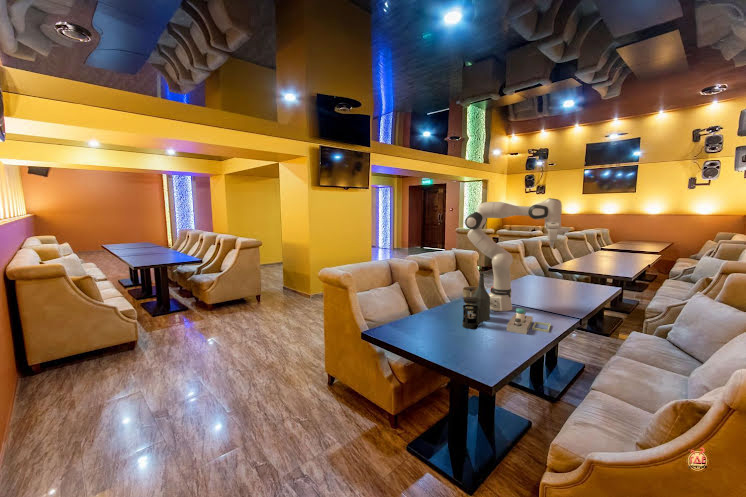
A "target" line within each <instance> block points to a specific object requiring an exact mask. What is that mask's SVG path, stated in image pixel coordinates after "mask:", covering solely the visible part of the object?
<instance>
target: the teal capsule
mask: <svg viewBox="0 0 746 497" xmlns="http://www.w3.org/2000/svg"><path fill="white" fill-rule="evenodd" d="M515 312H516V313H515V314H516V318H519V319H521V322H523V323H525V315H526V314H525V312H526V309H525V308H521V307H520V308H518V307H517V308H516V309H515Z"/></svg>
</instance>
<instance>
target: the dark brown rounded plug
mask: <svg viewBox="0 0 746 497" xmlns="http://www.w3.org/2000/svg"><path fill="white" fill-rule="evenodd" d="M515 321H516V323H515V325H517V326H520V322H521V319H519V318H516V319H515Z"/></svg>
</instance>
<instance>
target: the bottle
mask: <svg viewBox="0 0 746 497" xmlns="http://www.w3.org/2000/svg"><path fill="white" fill-rule="evenodd" d="M478 279H479V280H478V286H477V287H478V289H477V290H476V292H475V293H474V295H473V297H476V298H478V299H479V300H478V303H477V304H472V305H476V306H478V307H479V309H481V324H483V323H484V322H488V321H489V320H490V319H491V318H490V316H491V310H490V296H489V293H488V292H487V289H486V288H485V280H484V279H485V277H484V273H483V272H479V278H478ZM485 289H486V290H485ZM472 309H473V307H472ZM471 314H473V311H472V313H471ZM478 323H479V310H478Z"/></svg>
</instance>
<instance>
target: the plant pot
mask: <svg viewBox="0 0 746 497" xmlns="http://www.w3.org/2000/svg"><path fill="white" fill-rule="evenodd" d="M467 288H474V290H472V292H470V290H468V289H467ZM477 289H478V286H474V285H473V286H472V285H471V286H469V285H468V286H464V287H462V290H461V291H462V295H463V297H470V295H471V297H473V295H474V293H475V292H476V290H477ZM485 290H486V291H487V289H486V288H485ZM464 305H467V303H464ZM471 305H472V304H471ZM466 308H468V309H470V307H466ZM471 309H472V307H471ZM468 314H470V311H468ZM471 314H472V311H471Z"/></svg>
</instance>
